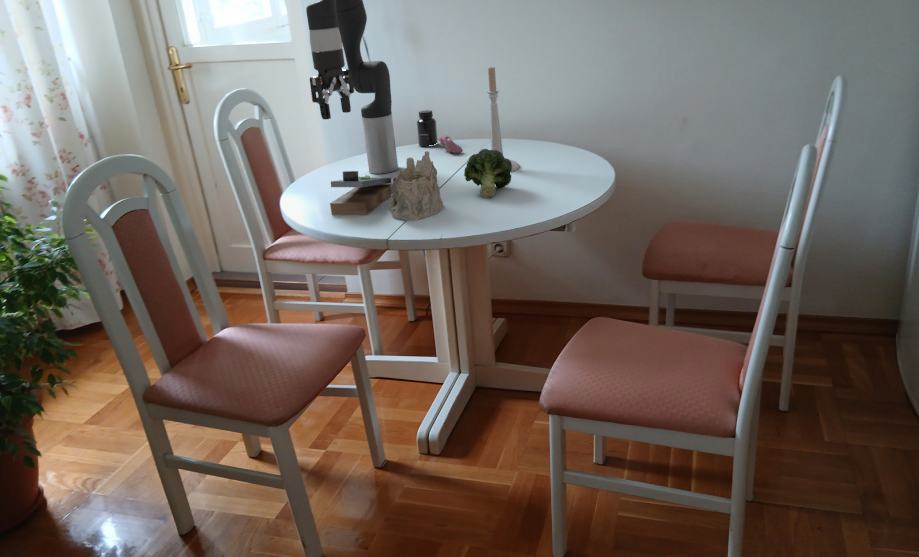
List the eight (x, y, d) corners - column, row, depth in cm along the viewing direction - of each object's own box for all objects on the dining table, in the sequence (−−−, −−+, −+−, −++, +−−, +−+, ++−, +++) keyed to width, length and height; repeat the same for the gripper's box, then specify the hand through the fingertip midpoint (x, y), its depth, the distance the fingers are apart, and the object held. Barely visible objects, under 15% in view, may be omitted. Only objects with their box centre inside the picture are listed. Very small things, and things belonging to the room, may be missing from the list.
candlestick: (503, 175, 216) (496, 69, 205) (468, 171, 223) (460, 69, 212) (527, 164, 225) (522, 62, 214) (493, 161, 233) (486, 63, 221)
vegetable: (454, 193, 195) (458, 156, 205) (489, 218, 201) (491, 181, 211) (486, 168, 188) (489, 131, 197) (521, 195, 194) (522, 158, 203)
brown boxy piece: (359, 192, 212) (357, 177, 210) (401, 193, 207) (399, 176, 206) (326, 214, 194) (323, 197, 192) (372, 215, 190) (369, 197, 188)
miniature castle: (410, 197, 202) (403, 144, 195) (456, 207, 192) (450, 151, 185) (369, 217, 191) (360, 161, 185) (415, 228, 181) (407, 170, 175)
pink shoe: (445, 154, 256) (434, 137, 252) (455, 146, 256) (445, 129, 253) (453, 159, 247) (442, 142, 244) (464, 152, 247) (453, 134, 244)
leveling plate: (362, 182, 208) (361, 168, 208) (391, 182, 205) (391, 168, 205) (331, 187, 192) (330, 171, 191) (362, 187, 189) (361, 171, 188)
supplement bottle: (421, 148, 260) (417, 114, 256) (417, 145, 266) (413, 111, 262) (440, 145, 262) (437, 111, 257) (435, 142, 268) (432, 108, 264)
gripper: (331, 45, 187) (341, 110, 193) (296, 52, 176) (307, 121, 182) (356, 44, 184) (365, 110, 190) (321, 51, 172) (332, 121, 178)
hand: (336, 115), depth 186 cm, fingers open, 8 cm apart
